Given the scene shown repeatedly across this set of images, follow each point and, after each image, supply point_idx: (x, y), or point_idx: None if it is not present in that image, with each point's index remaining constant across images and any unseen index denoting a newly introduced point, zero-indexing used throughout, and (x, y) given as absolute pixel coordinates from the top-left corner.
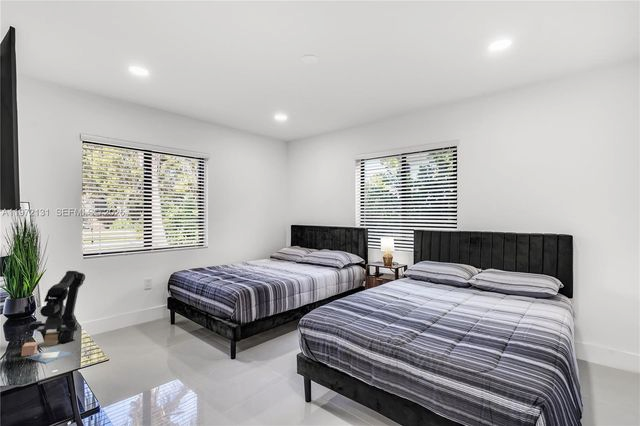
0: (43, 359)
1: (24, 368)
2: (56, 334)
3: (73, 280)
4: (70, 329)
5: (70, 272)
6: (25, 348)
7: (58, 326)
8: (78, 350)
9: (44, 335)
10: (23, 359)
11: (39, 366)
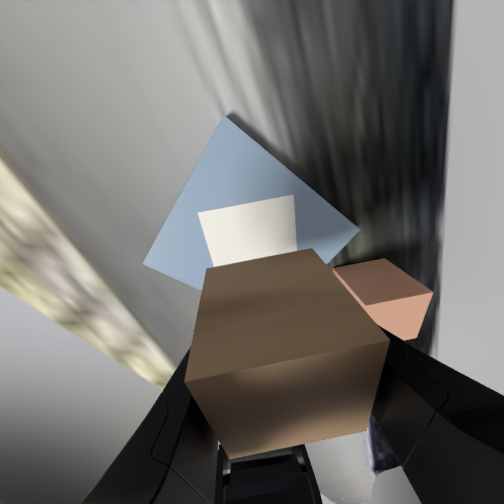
0: (263, 178)
1: (341, 38)
2: (209, 384)
3: None
4: (244, 458)
5: None
6: (402, 285)
7: (304, 487)
8: (142, 310)
9: (388, 356)
10: (369, 218)
11: (249, 64)
